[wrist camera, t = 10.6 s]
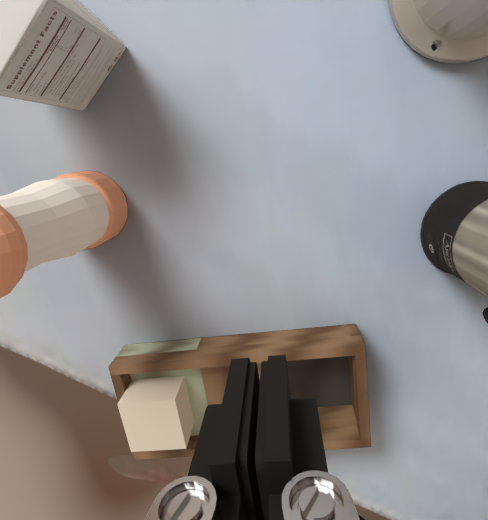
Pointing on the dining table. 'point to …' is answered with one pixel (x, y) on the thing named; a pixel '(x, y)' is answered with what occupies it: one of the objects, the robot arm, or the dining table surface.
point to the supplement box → (54, 52)
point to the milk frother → (460, 234)
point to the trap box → (258, 349)
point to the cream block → (157, 414)
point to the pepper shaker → (57, 221)
